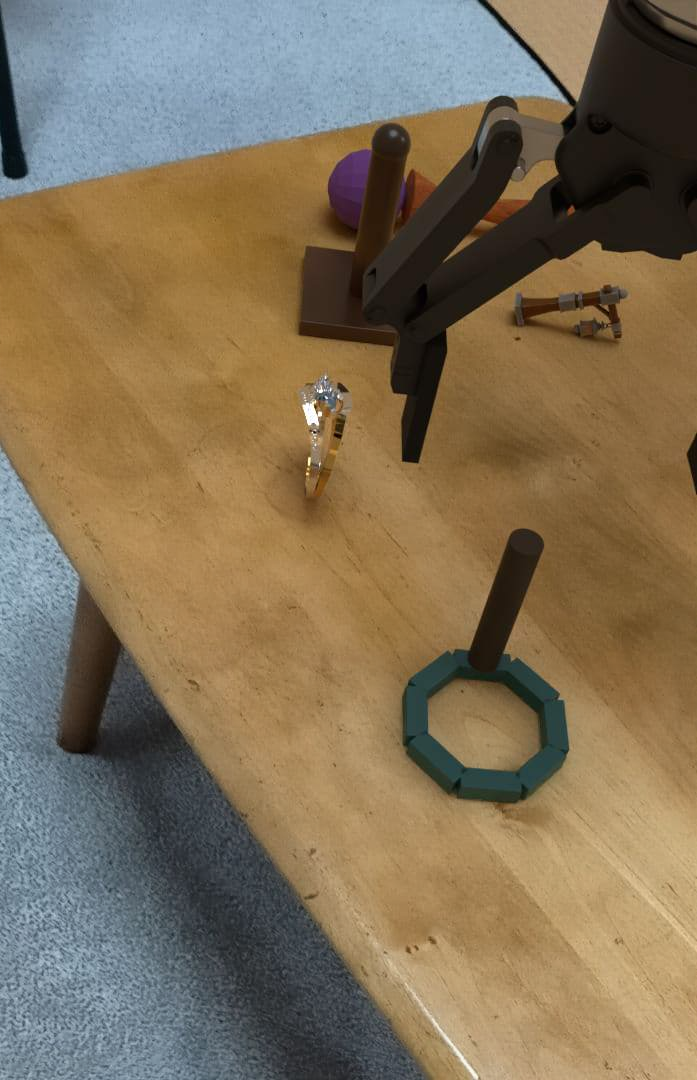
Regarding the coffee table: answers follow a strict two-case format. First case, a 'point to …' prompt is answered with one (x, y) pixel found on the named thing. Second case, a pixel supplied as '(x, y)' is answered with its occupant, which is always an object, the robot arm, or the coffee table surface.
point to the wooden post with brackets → (571, 302)
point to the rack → (357, 251)
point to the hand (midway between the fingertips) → (555, 459)
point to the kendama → (351, 183)
